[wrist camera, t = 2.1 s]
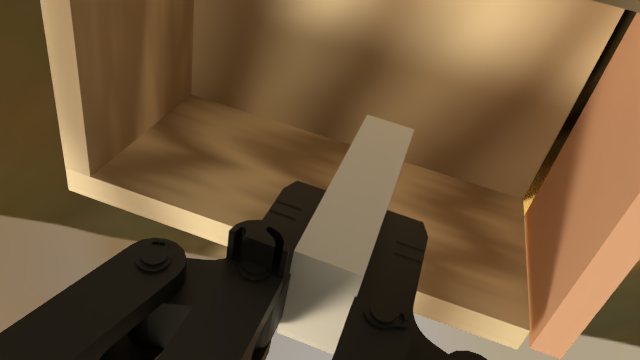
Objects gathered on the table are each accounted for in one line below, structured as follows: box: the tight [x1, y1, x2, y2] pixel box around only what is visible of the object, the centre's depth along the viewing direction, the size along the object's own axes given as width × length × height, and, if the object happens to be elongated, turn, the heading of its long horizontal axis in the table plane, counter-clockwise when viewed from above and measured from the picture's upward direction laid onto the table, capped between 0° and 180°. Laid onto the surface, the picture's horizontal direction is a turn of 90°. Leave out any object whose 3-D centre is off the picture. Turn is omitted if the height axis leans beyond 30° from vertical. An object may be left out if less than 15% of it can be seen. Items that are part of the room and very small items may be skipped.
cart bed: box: [40, 0, 640, 349], centre depth 21 cm, size 20×14×10 cm
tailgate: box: [524, 12, 640, 359], centre depth 19 cm, size 1×14×9 cm, turn 169°
